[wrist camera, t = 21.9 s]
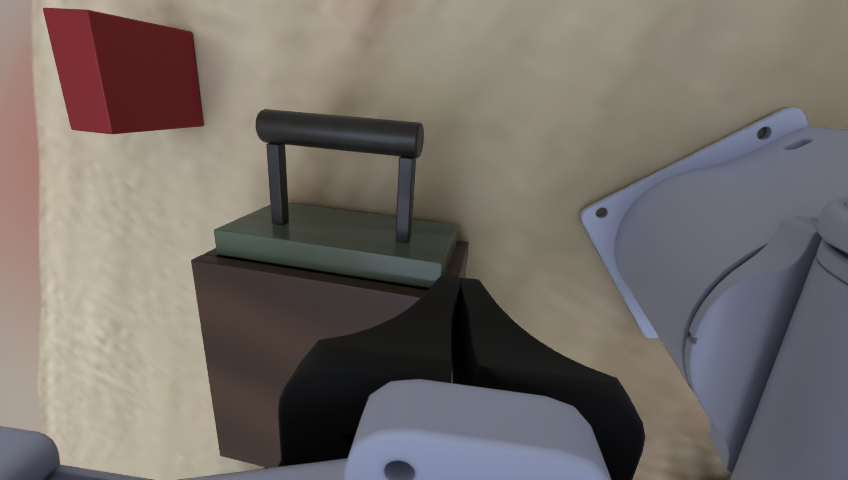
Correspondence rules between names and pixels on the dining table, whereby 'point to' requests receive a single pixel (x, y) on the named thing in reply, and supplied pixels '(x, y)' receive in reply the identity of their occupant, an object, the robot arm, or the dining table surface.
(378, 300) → the cabinet
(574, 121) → the dining table surface
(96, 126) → the card box
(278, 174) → the drawer
